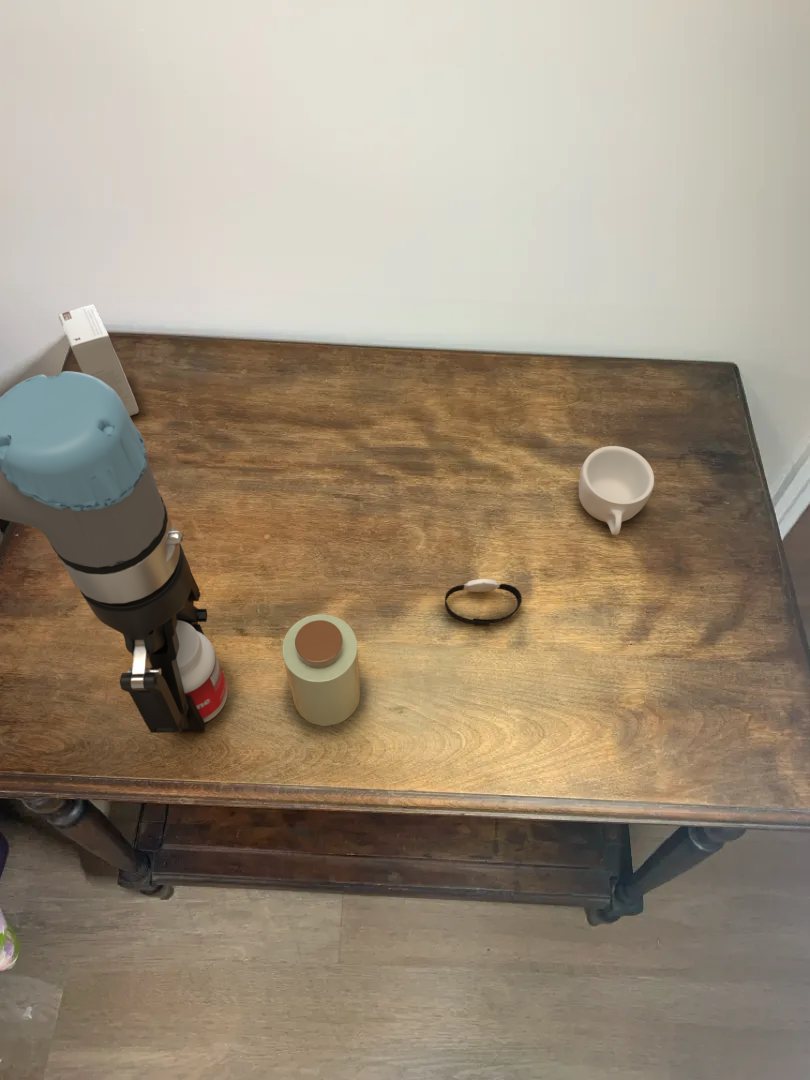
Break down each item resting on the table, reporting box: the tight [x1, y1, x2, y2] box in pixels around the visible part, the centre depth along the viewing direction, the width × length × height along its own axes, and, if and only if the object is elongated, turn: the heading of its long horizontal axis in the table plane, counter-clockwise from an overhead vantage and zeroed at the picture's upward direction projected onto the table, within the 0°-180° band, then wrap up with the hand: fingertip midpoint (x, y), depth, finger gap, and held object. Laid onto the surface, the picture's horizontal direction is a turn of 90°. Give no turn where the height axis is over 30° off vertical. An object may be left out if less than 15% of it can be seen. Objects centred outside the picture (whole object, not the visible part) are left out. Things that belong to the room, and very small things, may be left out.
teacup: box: [578, 445, 655, 536], centre depth 88 cm, size 10×8×5 cm
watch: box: [444, 578, 523, 627], centre depth 81 cm, size 8×5×4 cm, turn 93°
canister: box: [281, 613, 361, 727], centre depth 73 cm, size 6×6×11 cm
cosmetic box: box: [58, 303, 140, 417], centre depth 93 cm, size 6×4×12 cm
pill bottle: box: [176, 620, 228, 724], centre depth 72 cm, size 6×6×11 cm
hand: (194, 692), depth 76 cm, fingers closed on pill bottle, 6 cm apart
